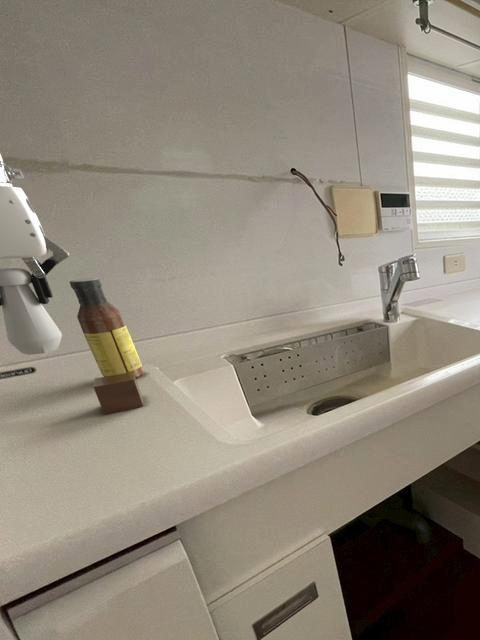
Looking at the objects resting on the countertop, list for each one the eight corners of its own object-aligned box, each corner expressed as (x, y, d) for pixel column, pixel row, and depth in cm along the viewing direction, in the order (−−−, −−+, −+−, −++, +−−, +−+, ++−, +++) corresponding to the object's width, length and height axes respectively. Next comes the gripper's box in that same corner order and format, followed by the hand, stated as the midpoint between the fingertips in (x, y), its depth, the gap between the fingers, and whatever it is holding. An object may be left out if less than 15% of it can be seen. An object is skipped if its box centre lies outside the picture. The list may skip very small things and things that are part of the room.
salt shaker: (67, 343, 69) (37, 265, 64) (66, 351, 65) (35, 269, 61) (16, 350, 65) (-20, 268, 61) (12, 358, 62) (-26, 272, 57)
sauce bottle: (139, 370, 86) (106, 275, 78) (149, 376, 82) (115, 278, 75) (98, 379, 81) (59, 279, 73) (107, 386, 77) (66, 282, 70)
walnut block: (105, 404, 70) (94, 378, 68) (142, 397, 73) (133, 371, 71) (104, 414, 67) (93, 387, 65) (143, 406, 70) (133, 379, 68)
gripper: (57, 180, 64) (97, 295, 70) (-124, 170, 53) (-58, 306, 60) (52, 177, 59) (95, 302, 65) (-151, 166, 48) (-75, 316, 55)
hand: (21, 303), depth 62 cm, fingers closed on salt shaker, 4 cm apart
